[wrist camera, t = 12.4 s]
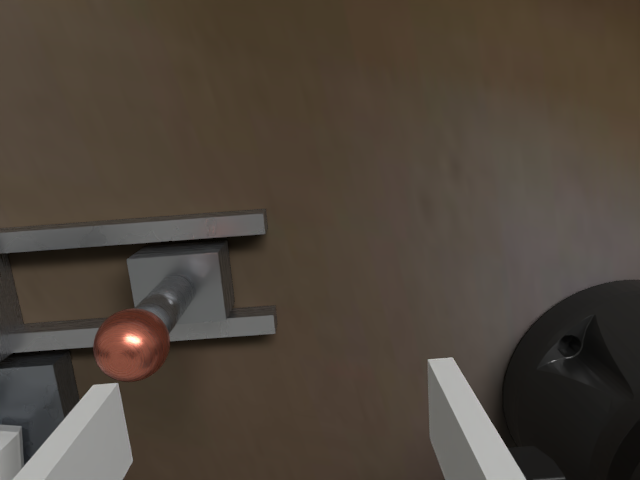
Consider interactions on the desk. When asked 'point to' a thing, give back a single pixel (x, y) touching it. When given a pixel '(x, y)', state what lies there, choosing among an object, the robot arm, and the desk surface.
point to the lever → (164, 305)
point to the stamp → (10, 451)
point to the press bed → (36, 395)
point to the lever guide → (3, 307)
